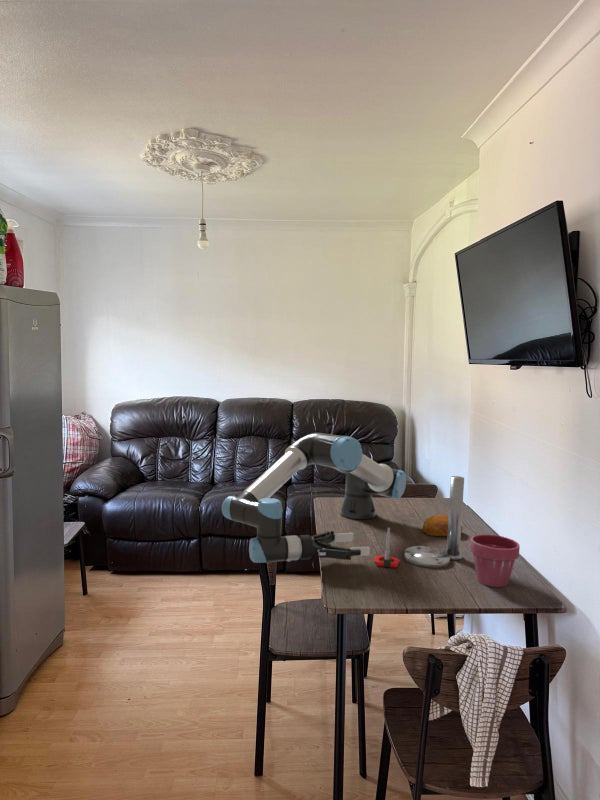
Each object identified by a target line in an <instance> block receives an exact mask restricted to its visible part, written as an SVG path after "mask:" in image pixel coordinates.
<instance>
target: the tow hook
mask: <svg viewBox="0 0 600 800" xmlns="http://www.w3.org/2000/svg"><path fill="white" fill-rule="evenodd" d="M385 543H386V546H385V551H384V555H377V556H375V557H374V558H373V561H374V562H375V564H376V566H377V567H383V568H393V569H396V568H398V565H400V562H401V560H400V559H399V558H398V557H395V556H391V551H390V549H391V527H387V533H386V541H385ZM382 560H383V561H382Z"/></svg>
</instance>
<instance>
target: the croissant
mask: <svg viewBox="0 0 600 800" xmlns="http://www.w3.org/2000/svg"><path fill="white" fill-rule="evenodd" d="M448 518H449V515H446V514H436V515H430V516H429V517H427V518H426V519H425V520H424V522H423V525H422V530H423V532H424V533H425V534H426V535H429V536H433V537H435V536H436V537H447V535H448ZM462 532H463V525H462V524H461V534H462Z"/></svg>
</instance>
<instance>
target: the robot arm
mask: <svg viewBox="0 0 600 800" xmlns="http://www.w3.org/2000/svg"><path fill="white" fill-rule="evenodd" d="M284 450H285V451H284V454H283V455H282V456H281V457H280V458H278V459H277V460H276V461H275V462H274V463H273V464H272V465H271V466H269V468H268V469H266V470H265V471H264V472H263V473H262V474H261V475H260V476H259V477H258V478H256V480H254V481H253V482H252V483H251V484H250V485H249V486H248V487H246V488H245V489H244V490H243V491H242V492H241V493H240V494H239V495H237V496H236V495H229V496H227V497H225V499H224V500H223V502H222V504H221V513H222V515H223V517H224V518H226V519H228V520H230V521H232V522H237V523H241V524H244V525H248V526H250V527H254V528H256V537H252V538H250V539H249V544H248V545H249V546H248V553H249V559H250V560H251V561H252V563H255V564H257V563H260V564H261V563H265V564H267V563H274V562H289V563H291V562H292V561H298V560H301V561H302V560H304V561H305V560H311V559H312V558H313V555H314V554H315V555H318V557H319V559H323V558H324V559H325V558H327V559H337V560H347V561H351V560H352V557H363V556H364V557H366V556H370V549H371V547H370V546H369V545H368V546H352V547H349V548H347V547H342V546H337V545H336V546H335V545H331V543H332V542H334V543H344V542H345V543H346V542H353V541H354V532H342V533H341V532H340V533H335V531H334V530H331V531H325V532H322V533H318V534H315V535H309V534H300V535H283V536H282V522H283V521H282V520H283V504H282V501H281V500H280V499H278V498H275V497H273V498H271V497H272V496H274V495H275V493H276V492H278V491H279V489H280V488H282V487H283V486H284V484H286V483H287V482H288V481H289V480H290V479H291V478H292V477H293V476H294V475H295V474H296V473H297V472H299V470H304V469H306V468H307V466H310V465H316V466H317V465H319V466H323V467H327V468H332V469H334V470H336V471H338V472H339V473H342V474H345V488H344V489H345V491H344V499H343V501H342V503H341V506H340V509H339V510H340V511H339V514H340V516H342V517H345V518H347V519H352V520H369V519H374V518H375V517H376V515H377V513H376V507H375V504H374V499H373V495H377V496H382V497H386V498H391V499H400V498H401V497H402V496H403V495H404V493H405V490H406V486H407V484H406V483H407V476H406V473H405V472H406V471H404V470H401V469H397V468H396V469H395V468H393V467H391V466H389V465H388V464H385V463H378V462H377V461H375V460H373V459H372V458H370V457H368V456H367V455H365V454H363V449H362V445H361V443H360V441H358V439H356V438H354V437H351V436H349V435H337V434H331V433H323V432H312V433H309V434H307V435H304V436H302V437H300V438H299V439H297V440H295V441H294V442H293V443H292V444H290V445H289V446H288V447H287V448H286V449H284Z"/></svg>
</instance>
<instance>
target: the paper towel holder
mask: <svg viewBox="0 0 600 800" xmlns="http://www.w3.org/2000/svg"><path fill="white" fill-rule="evenodd" d="M464 485H465V477H464V476H460V475H453V476H451V477H450V486H449V487H450V489H449V505H448V516H449V518H448V535H447V536H446V537H447V538H446V550H443V549H441V548H438V547H434V546H426V545H415V546H414V545H413V546H410V547H407V548H406V549H404V559H405V560H406V562H408V563H410V564H412V565H415V566H418V567H421V568H423V567H424V568H431V569H433V568H436V569H437V568H444V567H447V566H449V564H451V563H450V562H451V561H454V562H455V561H457V562H458V561H462V560H463V553H461V539H462V538H461V536H462V535H461V534H462V533H461V525H462V524H463V523H462V521H463V504H464V503H463V502H464V488H465V486H464Z"/></svg>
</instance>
